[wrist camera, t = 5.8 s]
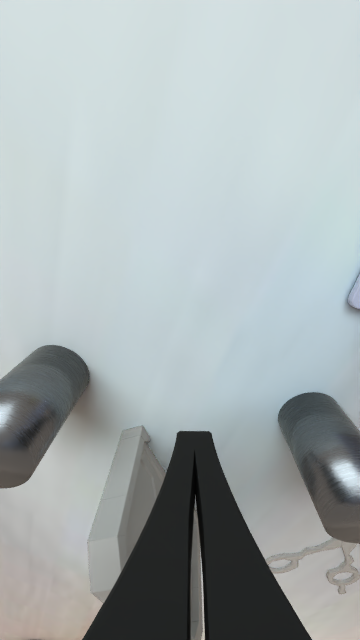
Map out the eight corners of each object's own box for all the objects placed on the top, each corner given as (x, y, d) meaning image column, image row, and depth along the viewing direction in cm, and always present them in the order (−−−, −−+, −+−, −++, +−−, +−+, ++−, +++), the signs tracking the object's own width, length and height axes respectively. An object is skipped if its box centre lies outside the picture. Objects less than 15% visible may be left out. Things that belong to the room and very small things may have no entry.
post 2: (349, 398, 15) (440, 500, 10) (323, 440, 17) (388, 548, 11) (290, 387, 15) (348, 484, 10) (269, 431, 17) (309, 536, 11)
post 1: (90, 351, 15) (29, 432, 9) (88, 400, 16) (36, 494, 11) (25, 339, 14) (-77, 415, 9) (30, 390, 16) (-54, 480, 10)
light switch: (181, 519, 22) (178, 669, 14) (122, 430, 17) (73, 581, 10) (199, 515, 21) (204, 668, 14) (143, 424, 17) (108, 576, 10)
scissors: (253, 577, 25) (365, 458, 17) (251, 567, 25) (358, 448, 17) (343, 594, 26) (491, 489, 18) (339, 584, 26) (479, 478, 18)
